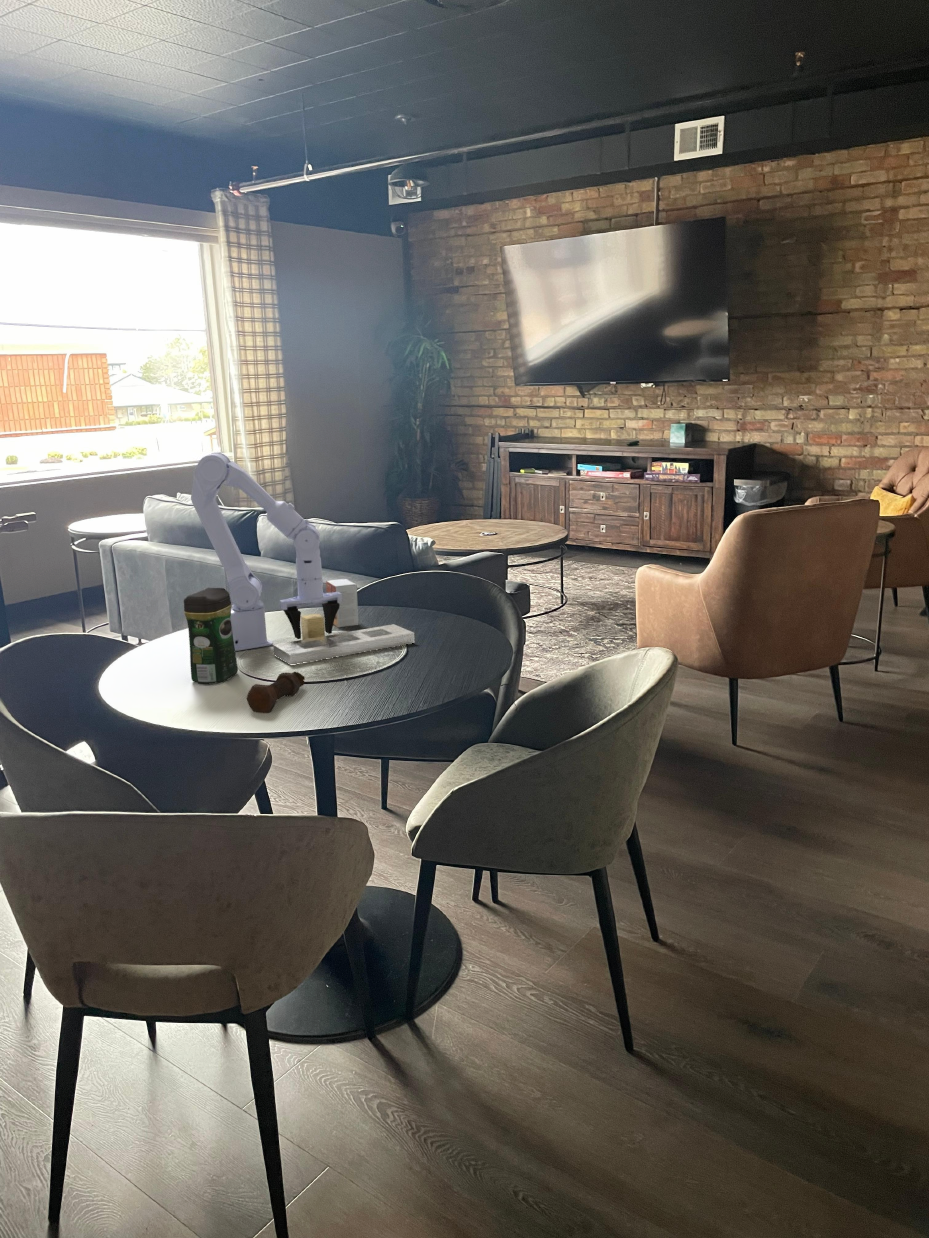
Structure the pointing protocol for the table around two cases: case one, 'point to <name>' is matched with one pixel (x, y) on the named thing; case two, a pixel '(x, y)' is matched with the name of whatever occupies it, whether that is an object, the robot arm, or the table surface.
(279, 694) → the bolt
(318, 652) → the board
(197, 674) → the coffee jar
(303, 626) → the block
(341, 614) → the small box
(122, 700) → the table surface
